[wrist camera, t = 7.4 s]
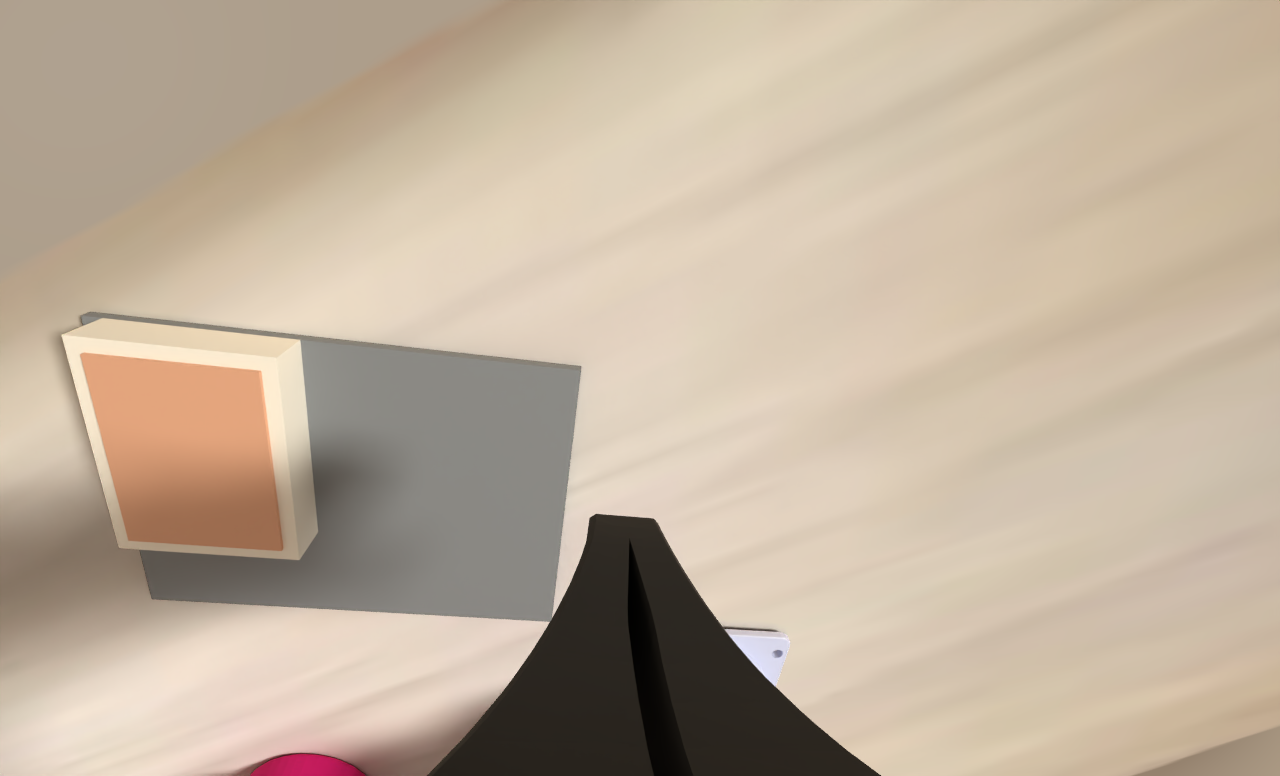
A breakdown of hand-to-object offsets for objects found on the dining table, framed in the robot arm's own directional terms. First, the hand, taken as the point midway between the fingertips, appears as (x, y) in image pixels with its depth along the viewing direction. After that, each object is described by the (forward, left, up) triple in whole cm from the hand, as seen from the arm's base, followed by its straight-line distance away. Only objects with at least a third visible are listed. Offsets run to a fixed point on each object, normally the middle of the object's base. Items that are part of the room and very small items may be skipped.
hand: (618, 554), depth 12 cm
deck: (-4, +10, -9) cm, 14 cm away
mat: (-6, +9, -10) cm, 15 cm away
